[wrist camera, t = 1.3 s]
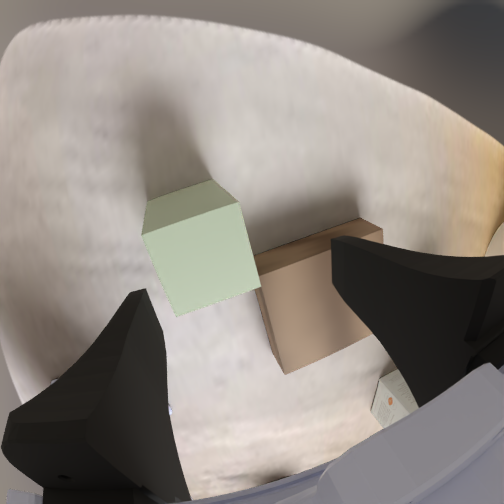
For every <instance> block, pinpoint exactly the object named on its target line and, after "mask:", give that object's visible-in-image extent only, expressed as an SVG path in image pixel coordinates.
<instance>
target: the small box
mask: <svg viewBox="0 0 504 504" xmlns="http://www.w3.org/2000/svg"><path fill="white" fill-rule="evenodd" d="M417 409H419V407H418V405H417V403H416V401H415V399H414V396H413V395H412V393H411V391H410V389H409V387H408V385H407V383H406V382H405V380H404V378H403V376H402V375H401V373H400V371H399V370H398V369H397V370H395V371H393V372H391V373H389V374H387V375H385V376H383V377H382V378H380V379H379V384H378V388H377V391H376V395H375V399H374V403H373V406H372V410H371V413H372V414H373V416H374V417H375V418H376V419H377V421H378V422H379V423H380V425H381V426H382V427H383V428H386V427H388V426H390V425H391V424H393V423H395V422H397V421H399V420H400V419H402V418H404V417H405V416H407V415H409V414H411V413H412V412H414V411H415V410H417Z"/></svg>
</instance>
